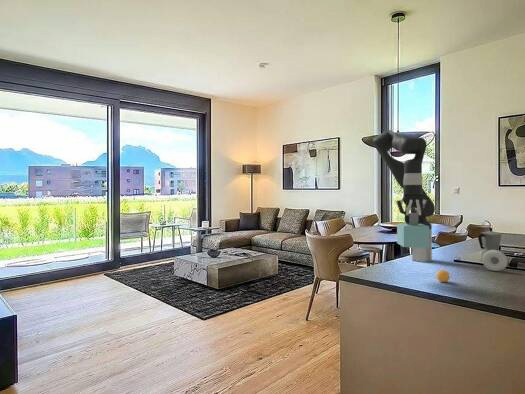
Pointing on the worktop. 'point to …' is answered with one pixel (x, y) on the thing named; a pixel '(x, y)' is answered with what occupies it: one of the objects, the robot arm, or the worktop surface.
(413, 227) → the mint green box
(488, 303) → the worktop surface
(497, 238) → the coffeepot
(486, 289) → the worktop surface
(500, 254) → the donut
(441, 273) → the ball
